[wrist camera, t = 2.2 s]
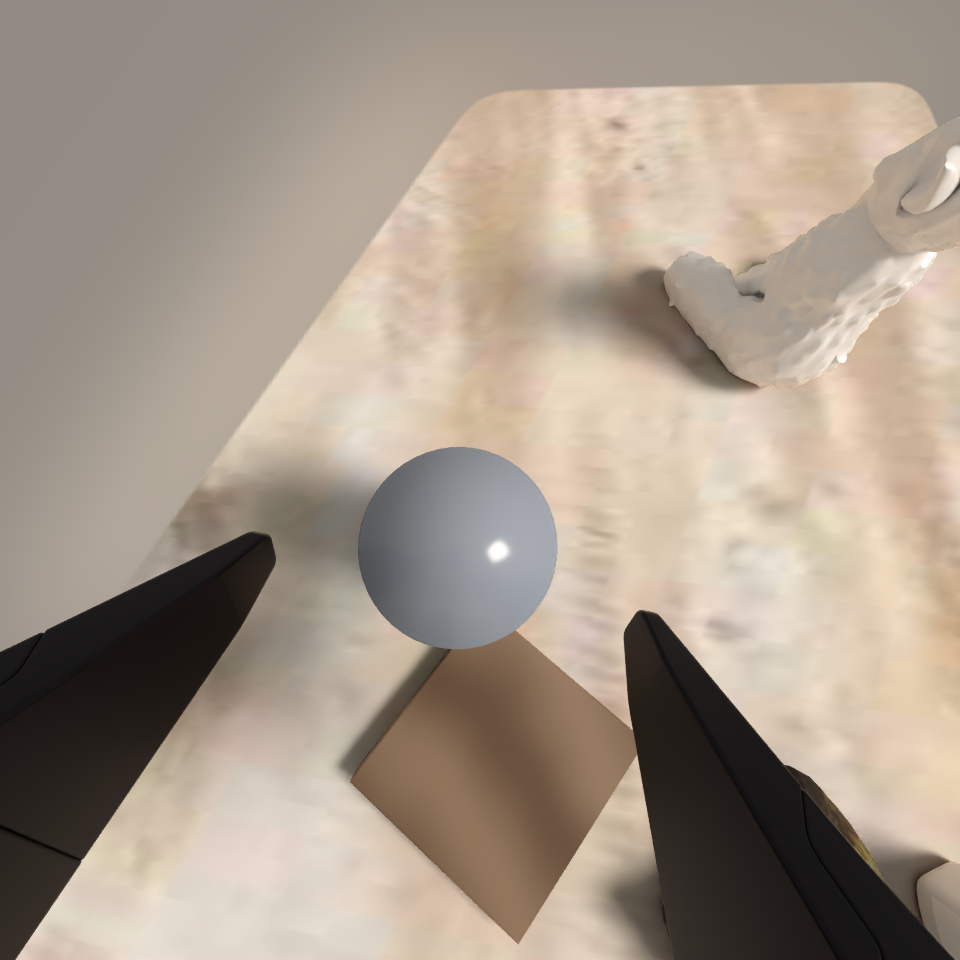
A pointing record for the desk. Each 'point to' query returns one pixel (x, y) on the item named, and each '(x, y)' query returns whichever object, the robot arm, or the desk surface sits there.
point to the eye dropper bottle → (942, 905)
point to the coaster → (498, 773)
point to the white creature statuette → (828, 271)
